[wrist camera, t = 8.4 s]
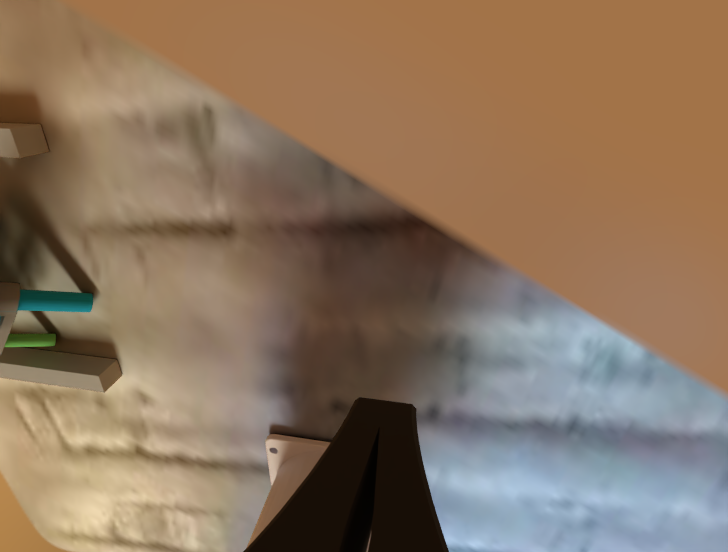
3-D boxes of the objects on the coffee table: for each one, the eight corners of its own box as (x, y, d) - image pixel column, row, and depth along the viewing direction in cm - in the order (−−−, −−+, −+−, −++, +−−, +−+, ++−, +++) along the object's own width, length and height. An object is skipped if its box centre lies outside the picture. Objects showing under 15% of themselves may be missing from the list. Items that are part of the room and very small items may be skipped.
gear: (-43, 136, 18) (-72, 351, 14) (112, 174, 22) (128, 347, 18) (-63, 274, 24) (-88, 452, 20) (61, 283, 28) (64, 431, 24)
